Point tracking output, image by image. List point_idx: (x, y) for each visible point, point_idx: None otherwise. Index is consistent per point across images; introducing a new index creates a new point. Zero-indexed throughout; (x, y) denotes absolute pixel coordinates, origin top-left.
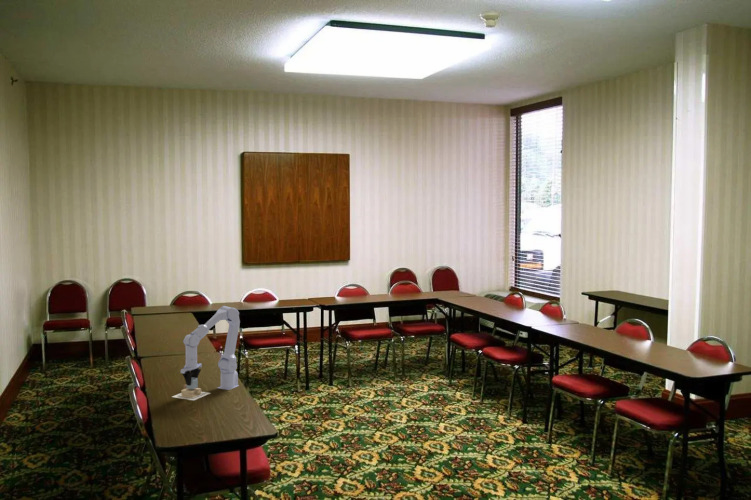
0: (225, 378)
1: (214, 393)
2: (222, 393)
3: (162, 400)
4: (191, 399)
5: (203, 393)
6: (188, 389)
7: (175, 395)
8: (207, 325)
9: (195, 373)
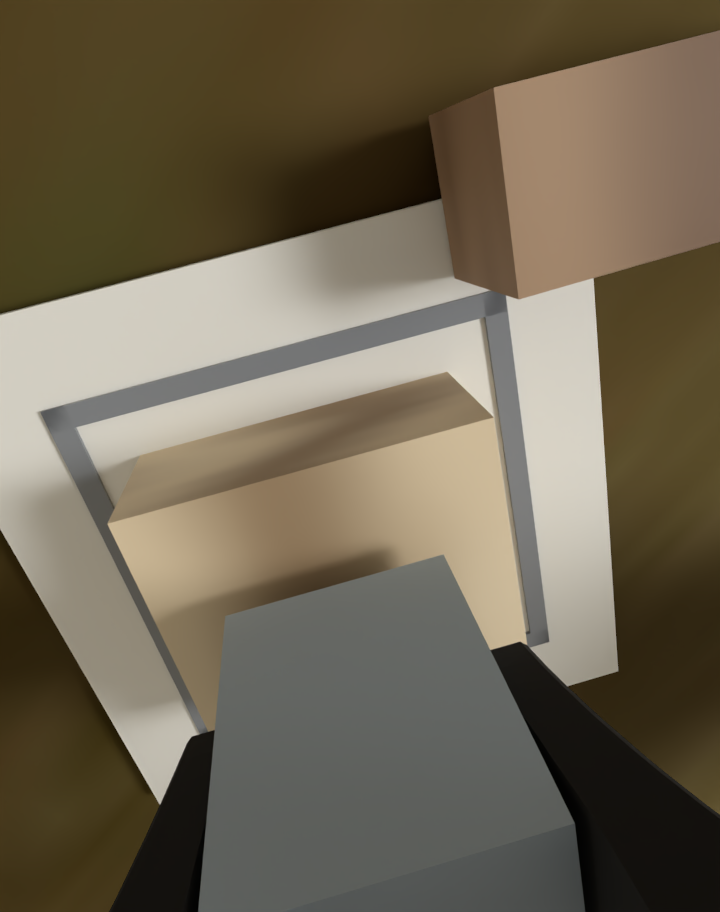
0: None
1: (661, 664)
2: (712, 730)
3: None
4: (160, 751)
5: (527, 623)
6: (284, 595)
7: (41, 320)
8: None
9: None
